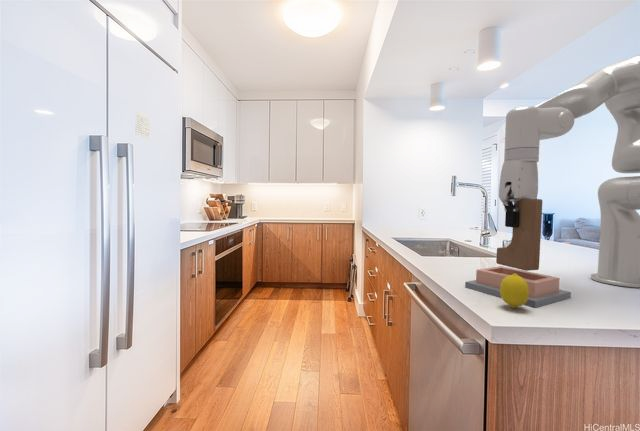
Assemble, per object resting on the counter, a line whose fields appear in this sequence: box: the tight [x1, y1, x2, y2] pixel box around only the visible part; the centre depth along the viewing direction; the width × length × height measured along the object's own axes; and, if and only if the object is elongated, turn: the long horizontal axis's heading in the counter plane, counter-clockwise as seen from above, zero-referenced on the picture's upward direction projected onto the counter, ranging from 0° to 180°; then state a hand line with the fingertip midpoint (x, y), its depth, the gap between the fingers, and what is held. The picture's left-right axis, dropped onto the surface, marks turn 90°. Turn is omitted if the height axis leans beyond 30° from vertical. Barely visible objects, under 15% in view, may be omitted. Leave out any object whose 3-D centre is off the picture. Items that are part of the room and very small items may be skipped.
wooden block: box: [496, 198, 543, 272], centre depth 80 cm, size 9×4×18 cm, turn 17°
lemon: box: [500, 274, 529, 309], centre depth 68 cm, size 6×6×8 cm
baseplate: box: [464, 265, 572, 308], centre depth 80 cm, size 16×18×5 cm
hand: (518, 225), depth 79 cm, fingers closed on wooden block, 4 cm apart
